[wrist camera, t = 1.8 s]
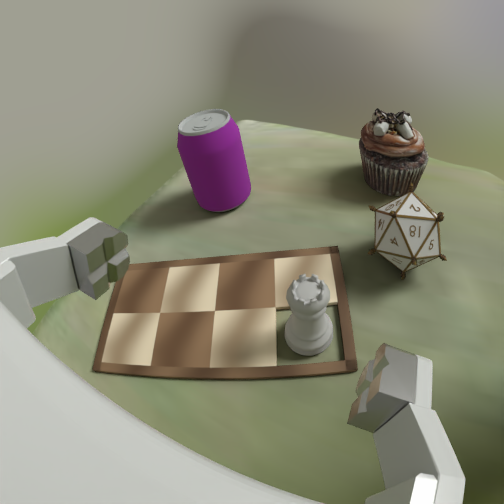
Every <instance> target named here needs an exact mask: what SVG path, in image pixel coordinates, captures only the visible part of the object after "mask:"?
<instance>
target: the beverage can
mask: <svg viewBox="0 0 504 504" xmlns="http://www.w3.org/2000/svg"><path fill="white" fill-rule="evenodd" d="M177 147H178V150H179V153H180V156H181V159H182V161H183V164H184V167H185V170H186V173H187V176H188V178H189V181H190V184H191V187H192V189H193V192H194V195H195V198H196V200H197V202H198V203H199V205H200V206H201V207H202V208H204V209H206V210H209V211H214V212H225V211H229V210H232V209H234V208H236V207H238V206H239V205H241V204H242V203H243V202H244V201H245V200H246V199H247V198H248V196H249V195H250V191H251V184H250V179H249V174H248V169H247V165H246V160H245V155H244V151H243V146H242V141H241V137H240V132H239V128H238V126H237V125H236V123H235V122H234V120H233V119H232V118H231V116H230V115H229V113H228V112H227V111H225V110H221V109H210V110H205V111H201V112H198V113H195V114H193V115H190V116H189V117H187V118H185V119H184V120H183V121H181V123H180V124H179V125H178V144H177Z"/></svg>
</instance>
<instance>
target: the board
mask: <svg viewBox="0 0 504 504" xmlns="http://www.w3.org/2000/svg"><path fill="white" fill-rule="evenodd" d="M302 274H306V277H311V276H312V274H315V275H317V276H318V279H320V280H323V281H324V283H325V284H326V285H327V286H328V288H329V290H330V300H329V302H328V304H327V306H328V305H338V312H339V320H340V327H341V335H342V343H343V352H344V360H343V361H334V362H323V363H312V364H299V365H284V366H277V333H276V310H281V309H291V308H290V306H289V305H288V302H287V299H286V294H287V290H288V288H289V286H290V285H291V284H292V282H293V280H297V279H299V275H302ZM93 370H94V371H95V372H103V373H112V374H122V375H132V376H144V377H159V378H178V379H218V380H230V379H271V378H290V377H305V376H317V375H328V374H338V373H347V372H355V371H357V370H358V368H357V360H356V352H355V345H354V337H353V331H352V324H351V317H350V311H349V305H348V299H347V293H346V287H345V282H344V276H343V271H342V265H341V260H340V255H339V250H338V246H332V247H321V248H309V249H298V250H287V251H276V252H264V253H253V254H242V255H230V256H219V257H208V258H196V259H185V260H173V261H162V262H150V263H139V264H129V268H128V270H127V272H126V273H125V275H124V276H123V277H122V278H121V279H120V280H119V281H116V284H115V287H114V290H113V293H112V297H111V300H110V303H109V307H108V310H107V314H106V318H105V321H104V325H103V329H102V332H101V336H100V340H99V344H98V348H97V352H96V356H95V361H94V365H93Z"/></svg>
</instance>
